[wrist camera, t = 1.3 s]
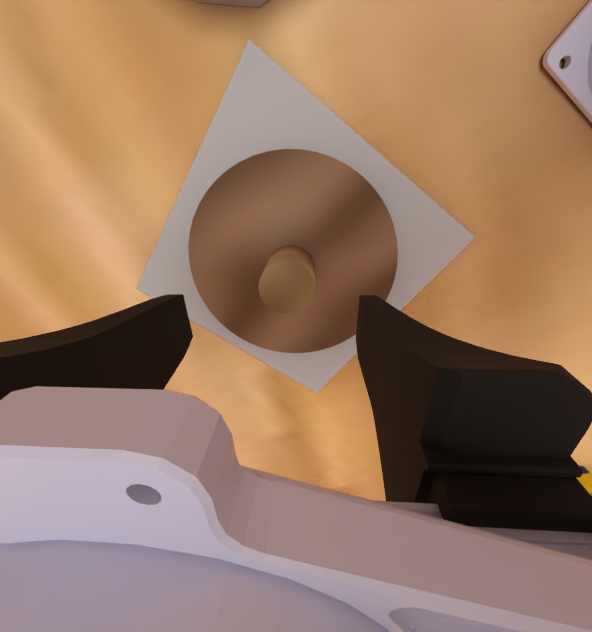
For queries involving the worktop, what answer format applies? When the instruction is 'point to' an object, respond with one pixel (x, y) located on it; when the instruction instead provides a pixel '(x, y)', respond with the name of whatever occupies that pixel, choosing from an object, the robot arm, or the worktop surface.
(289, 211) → the lid
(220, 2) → the bowl
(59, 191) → the worktop surface
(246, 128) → the mat
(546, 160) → the worktop surface
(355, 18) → the worktop surface
